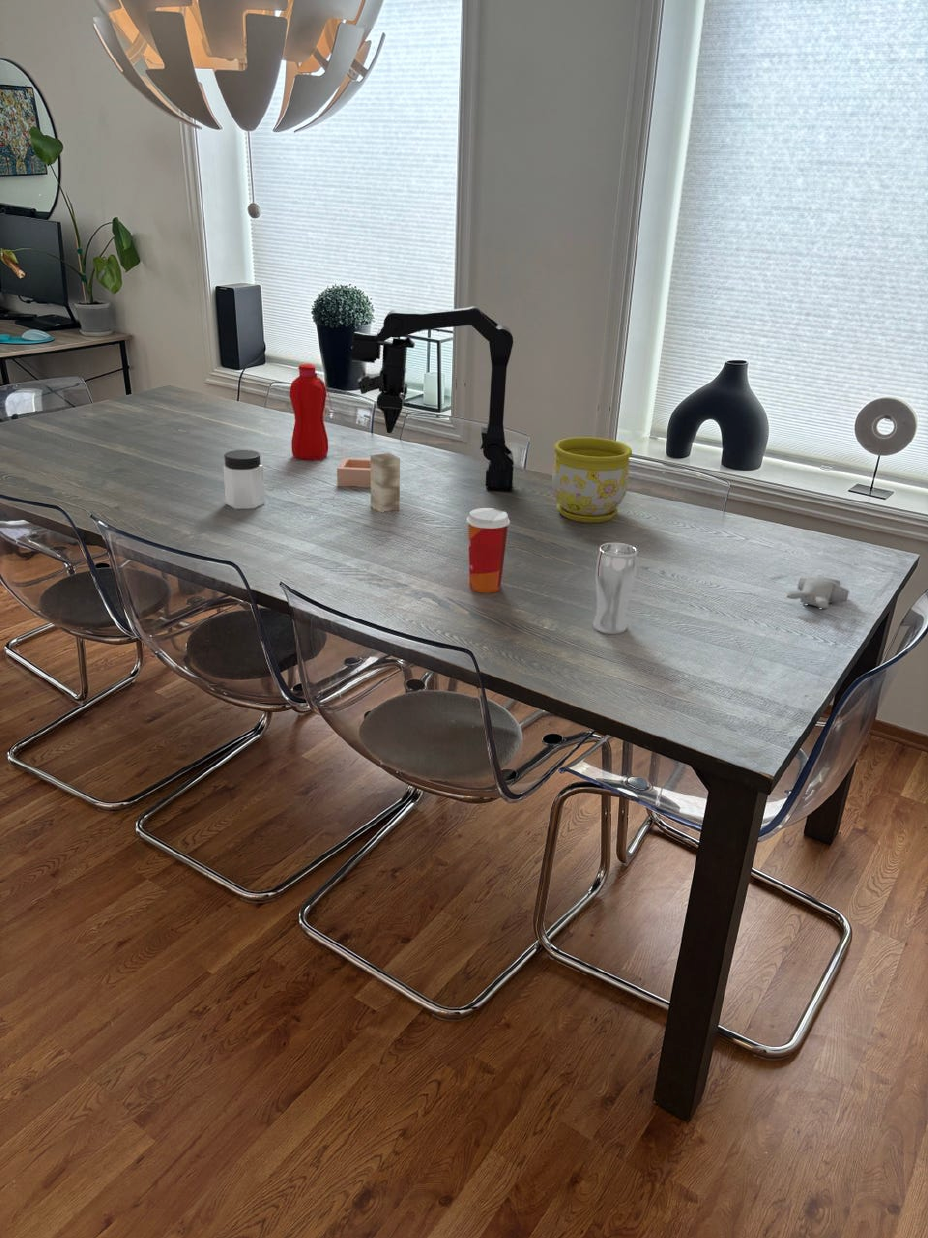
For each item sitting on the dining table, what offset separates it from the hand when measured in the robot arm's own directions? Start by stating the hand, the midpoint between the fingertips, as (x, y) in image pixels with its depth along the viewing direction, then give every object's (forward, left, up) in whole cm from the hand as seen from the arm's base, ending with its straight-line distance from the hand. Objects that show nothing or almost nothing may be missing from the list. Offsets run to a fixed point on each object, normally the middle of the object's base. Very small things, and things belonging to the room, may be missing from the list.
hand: (390, 428), depth 236 cm
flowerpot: (-49, +16, -15) cm, 54 cm away
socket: (+8, -1, -14) cm, 17 cm away
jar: (+32, +21, -15) cm, 41 cm away
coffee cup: (-26, +63, -15) cm, 70 cm away
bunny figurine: (-90, +62, -15) cm, 111 cm away
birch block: (-1, +19, -14) cm, 24 cm away
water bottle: (+24, -21, -15) cm, 35 cm away
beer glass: (-49, +78, -15) cm, 93 cm away
